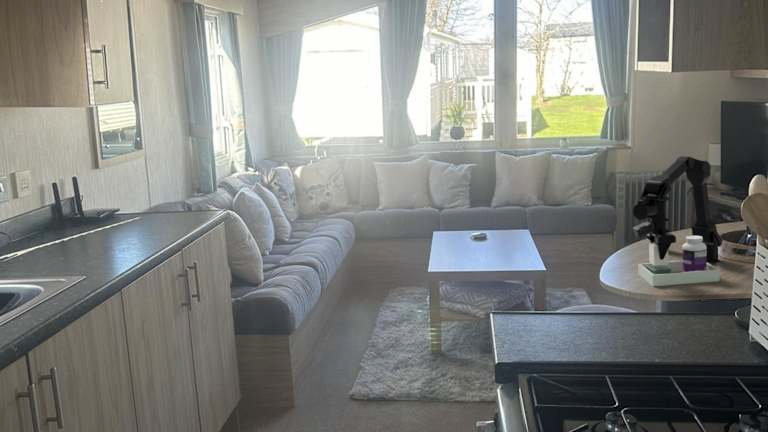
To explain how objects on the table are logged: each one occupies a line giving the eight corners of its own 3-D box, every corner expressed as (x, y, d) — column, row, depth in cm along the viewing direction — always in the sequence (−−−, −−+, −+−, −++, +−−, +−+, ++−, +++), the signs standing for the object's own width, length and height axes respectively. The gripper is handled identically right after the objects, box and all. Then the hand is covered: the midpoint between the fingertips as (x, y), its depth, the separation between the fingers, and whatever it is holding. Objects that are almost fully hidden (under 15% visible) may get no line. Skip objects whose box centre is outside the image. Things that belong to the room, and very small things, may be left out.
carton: (663, 260, 272) (662, 240, 271) (668, 264, 267) (667, 243, 266) (649, 262, 272) (648, 241, 271) (654, 265, 267) (653, 244, 266)
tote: (701, 269, 278) (701, 258, 277) (719, 281, 262) (719, 269, 262) (638, 274, 279) (638, 264, 278) (652, 286, 263) (652, 275, 262)
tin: (664, 276, 274) (664, 262, 273) (671, 281, 268) (671, 267, 267) (646, 277, 274) (645, 264, 274) (652, 282, 268) (652, 269, 267)
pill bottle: (678, 274, 274) (677, 236, 271) (699, 272, 275) (699, 233, 272) (689, 280, 266) (688, 240, 264) (711, 278, 267) (710, 238, 264)
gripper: (627, 212, 276) (628, 253, 279) (643, 221, 258) (644, 266, 261) (657, 209, 276) (658, 250, 278) (676, 219, 257) (677, 263, 260)
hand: (659, 257), depth 269 cm, fingers open, 5 cm apart
